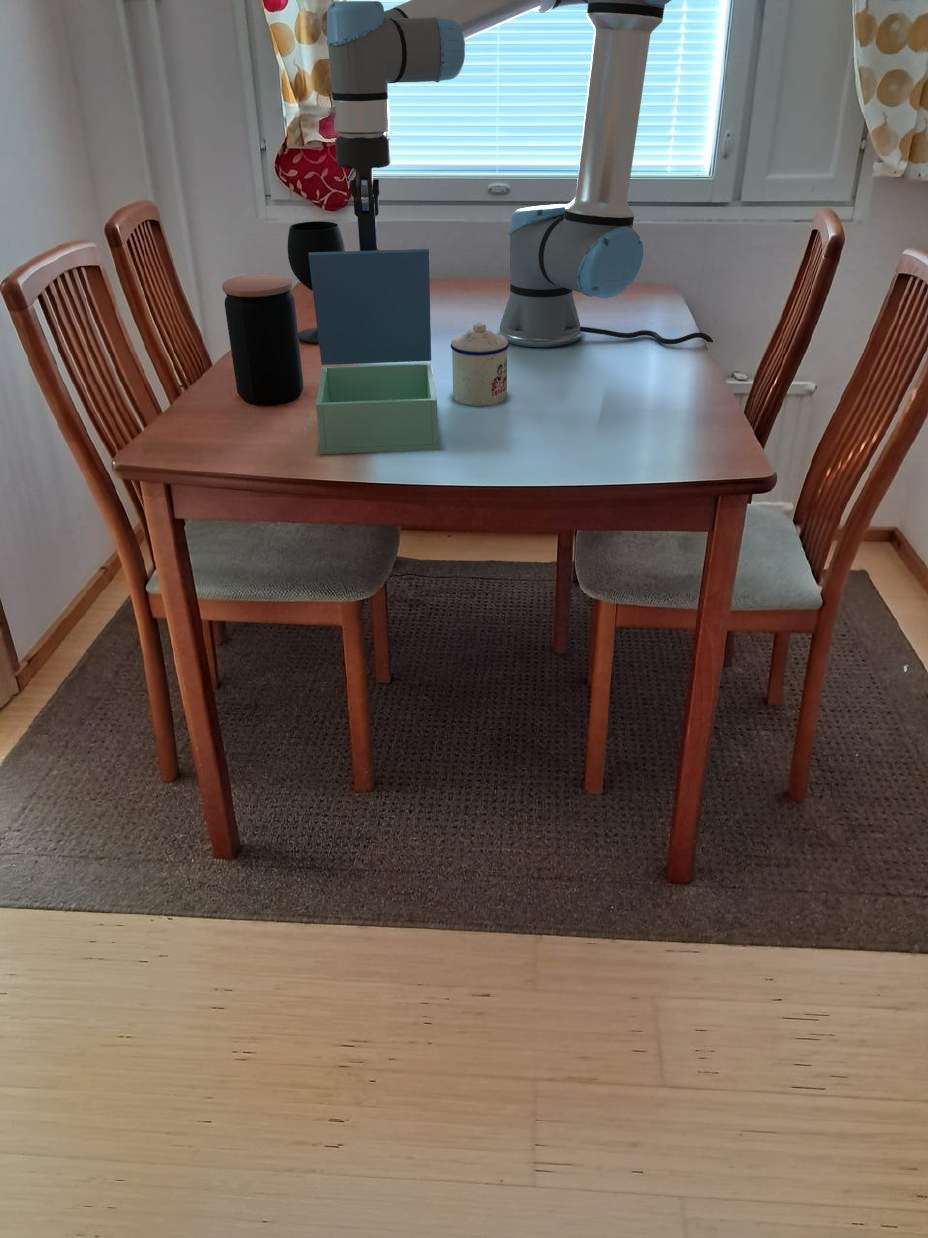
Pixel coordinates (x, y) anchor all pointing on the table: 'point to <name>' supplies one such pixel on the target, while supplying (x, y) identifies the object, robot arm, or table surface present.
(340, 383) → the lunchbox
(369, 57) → the robot arm
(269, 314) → the coffee jar
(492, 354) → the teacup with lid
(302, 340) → the wine glass
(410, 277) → the lunchbox lid
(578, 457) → the table surface
